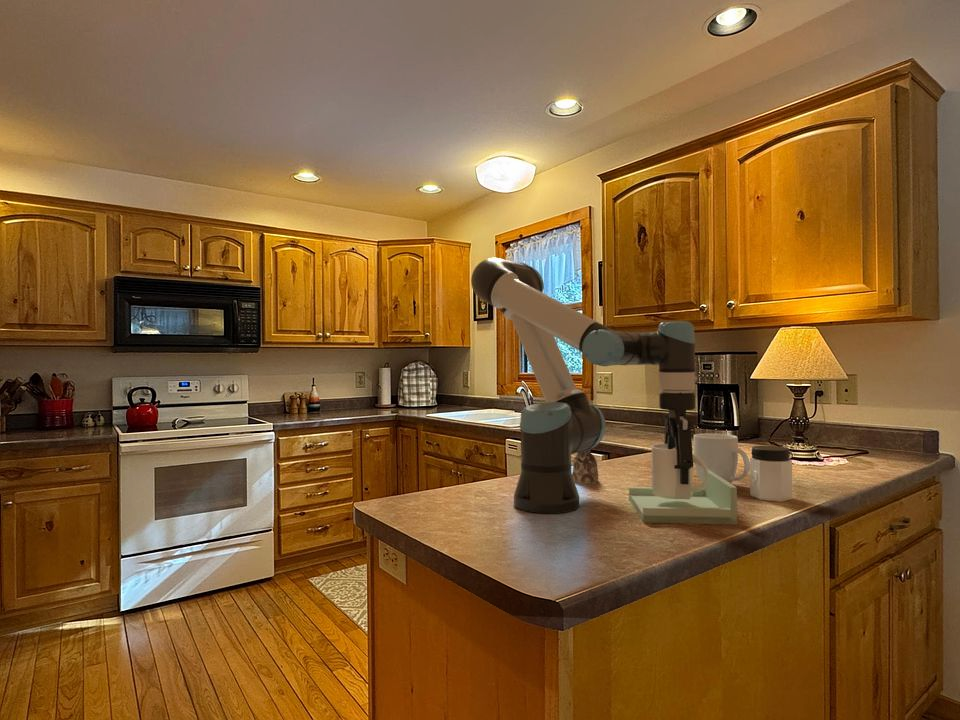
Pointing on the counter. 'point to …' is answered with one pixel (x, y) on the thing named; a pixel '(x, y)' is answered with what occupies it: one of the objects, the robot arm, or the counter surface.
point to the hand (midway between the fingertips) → (678, 493)
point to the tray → (689, 504)
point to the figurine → (585, 468)
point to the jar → (771, 473)
